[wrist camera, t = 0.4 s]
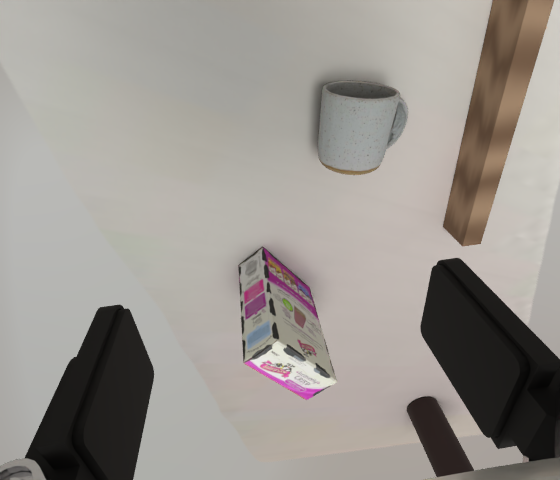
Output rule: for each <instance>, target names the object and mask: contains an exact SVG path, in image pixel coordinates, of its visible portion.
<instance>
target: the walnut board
mask: <svg viewBox="0 0 560 480" xmlns="http://www.w3.org/2000/svg"><path fill="white" fill-rule="evenodd" d="M553 2H554V0H493V3H492V8H491V12H490V17H489V21H488V26H487V30H486V35H485V39H484V44H483V48H482V53H481V58H480V62H479V67H478V71H477V76H476V80H475V85H474V89H473V94H472V98H471V103H470V107H469V112H468V116H467V121H466V125H465V130H464V134H463V139H462V143H461V148H460V152H459V157H458V161H457V166H456V170H455V175H454V179H453V184H452V188H451V193H450V198H449V202H448V207H447V211H446V216H445V220H444V225H443V227H444V228H445V229H446V230H447V231H448V232H449V233H450V234H451V235H452V236H453V237H454V238H455V239H456V240H457V241H458V242H459V243H460V244H461V245H462V246H469V245H476V244H481V241H482V237H483V234H484V231H485V227H486V224H487V221H488V218H489V214H490V211H491V208H492V204H493V201H494V198H495V194H496V191H497V188H498V184H499V181H500V178H501V174H502V171H503V168H504V165H505V161H506V158H507V155H508V151H509V148H510V145H511V141H512V138H513V135H514V131H515V128H516V125H517V122H518V118H519V115H520V112H521V108H522V105H523V102H524V98H525V95H526V92H527V88H528V85H529V82H530V78H531V75H532V72H533V69H534V65H535V62H536V59H537V55H538V52H539V49H540V45H541V42H542V39H543V35H544V32H545V29H546V26H547V22H548V19H549V16H550V12H551V9H552V6H553Z"/></svg>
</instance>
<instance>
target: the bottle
mask: <svg viewBox="0 0 560 480" xmlns="http://www.w3.org/2000/svg"><path fill="white" fill-rule="evenodd" d="M407 412H408V414H409V416H410V419H411V421H412V423H413V425H414V427H415V430H416V432H417V434H418V436H419V439H420V441H421V443H422V445H423V447H424V450H425V452H426V454H427V456H428V458H429V461H430V463H431V465H432V467H433V470H434V472H435V474H436V476H437V477H442V476H447V475H453V474H458V473H464V472H470V471H474V469H473V467H472V465H471V464H470V462H469V460H468V458H467V456H466V454H465V452H464V450H463V449H462V447H461V445H460V443H459V441H458V439H457V437H456V436H455V434H454V432H453V430H452V428H451V426H450V424H449V423H448V421H447V419H446V417H445V415H444V413H443V411H442V410H441V408H440V406H439V404H438V402H437V400H436V399H434V398H431V397H423V398H419V399H417V400H415V401H413V402H412V403H411V404H410V405H409V406H408V408H407Z"/></svg>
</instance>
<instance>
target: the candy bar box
mask: <svg viewBox="0 0 560 480" xmlns="http://www.w3.org/2000/svg"><path fill="white" fill-rule="evenodd" d="M239 283H240V302H241V322H242V342H243V359H244V360H243V363H244V364H245V365H247V366H249V367H251V368H252V369H254V370H256V371H257V372H259V373H261V374H263V375H265V376H266V377H268V378H270V379H271V380H273V381H275V382H276V383H278V384H280V385H282V386H283V387H285V388H287V389H288V390H290V391H292V392H293V393H295V394H297V395H298V396H300V397H302V398H303V399H305V400H307V399H309V398H311V397H313V396H315V395H316V394H318V393H320V392H321V391H323V390H324V389H326V388H328V387H330V386H331V385H333V384H335V383H336V382H337V380H336V377H335V374H334V370H333V367H332V364H331V360H330V356H329V353H328V349H327V346H326V343H325V339H324V336H323V332H322V329H321V326H320V322H319V319H318V315H317V312H316V308H315V305H314V301H313V298H312V295H311V291H310V288H309V287H308V286H307V285H306V284H305V283H303V282H302V281H301V280H300V279H299V278H297V277H296V276H295V275H294V274H293V273H292V272H291V271H289V270H288V269H287V268H286V267H285V266H284V265H283V264H281V263H280V262H279V261H278V260H277V259H276V258H275V257H273V256H272V255H271V254H270V253H269V252H268V251H267V250H265V249H264V248H261V249H260V250H258V251H257V252H256V253H255V254H253V255H252V256H251V257H249V258H248V259H247V260H245V261H244V262H243V263H241V264H240V265H239Z"/></svg>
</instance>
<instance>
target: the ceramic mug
mask: <svg viewBox="0 0 560 480" xmlns="http://www.w3.org/2000/svg"><path fill="white" fill-rule="evenodd" d="M396 110H397V112H396ZM395 113H396V116H395ZM394 117H395V120H394ZM407 118H408V107H407V105H406V103H405V102H404V100H403V99H401V98H400V93H399V92H398V91H397V90H396V89H394V88H392V87H389V86H385V85H381V84H377V83H371V82H359V81H337V82H331V83H328V84H326V85H324V87H323V89H322V99H321V112H320V127H319V138H318V156H319V160H320V162H321V163H322V164H323V165H324V166H325V167H326V168H328V169H330V170H332V171H334V172H338V173H341V174H348V175H361V174H367V173H370V172H372V171H374V170H376V169H377V168H378V167H379V166H380V164H381V162H382V160H383V157H384V155H385V151H386V149H387V148H389V147H391V146H392V145H393V144H394V143H395V142H396V141H397V140H398V139H399V137H400V136H401V134H402V132H403V130H404V128H405V125H406V122H407ZM393 121H394V123H393ZM392 124H393V127H392Z"/></svg>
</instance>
